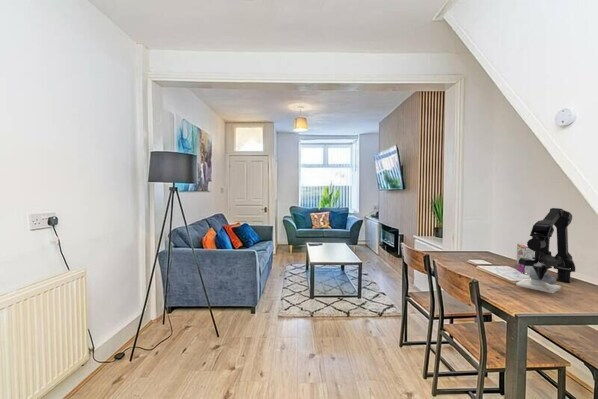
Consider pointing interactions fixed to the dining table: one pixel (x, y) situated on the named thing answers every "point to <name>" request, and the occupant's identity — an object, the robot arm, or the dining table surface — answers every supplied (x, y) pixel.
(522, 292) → the dining table surface
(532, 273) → the duct elbow
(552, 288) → the duct base
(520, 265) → the candy bar box
